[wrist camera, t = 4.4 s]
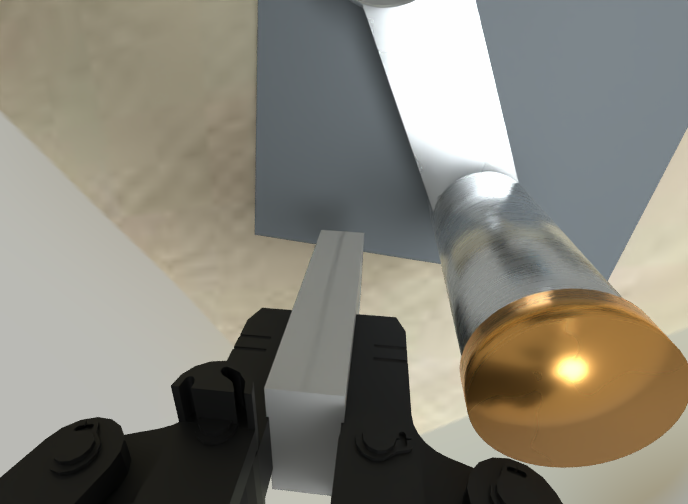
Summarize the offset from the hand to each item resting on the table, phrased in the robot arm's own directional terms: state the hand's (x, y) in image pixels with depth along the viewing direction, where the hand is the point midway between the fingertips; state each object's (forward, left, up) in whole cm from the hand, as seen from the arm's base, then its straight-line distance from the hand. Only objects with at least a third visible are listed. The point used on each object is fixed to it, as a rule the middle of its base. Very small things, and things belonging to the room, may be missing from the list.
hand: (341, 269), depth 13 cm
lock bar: (-6, +2, -4) cm, 7 cm away
